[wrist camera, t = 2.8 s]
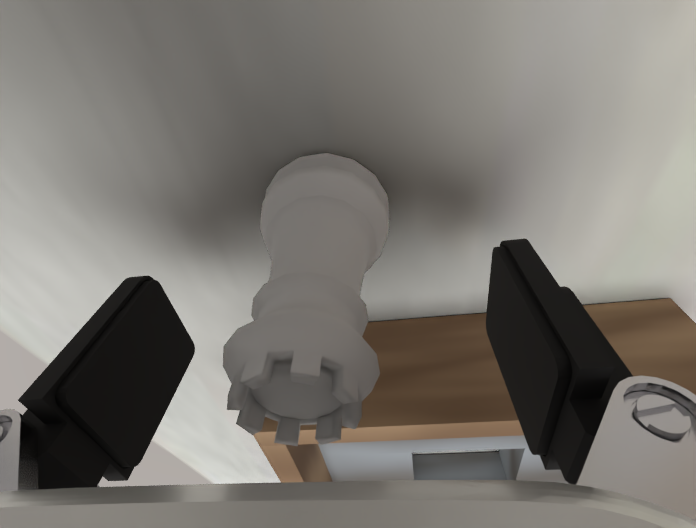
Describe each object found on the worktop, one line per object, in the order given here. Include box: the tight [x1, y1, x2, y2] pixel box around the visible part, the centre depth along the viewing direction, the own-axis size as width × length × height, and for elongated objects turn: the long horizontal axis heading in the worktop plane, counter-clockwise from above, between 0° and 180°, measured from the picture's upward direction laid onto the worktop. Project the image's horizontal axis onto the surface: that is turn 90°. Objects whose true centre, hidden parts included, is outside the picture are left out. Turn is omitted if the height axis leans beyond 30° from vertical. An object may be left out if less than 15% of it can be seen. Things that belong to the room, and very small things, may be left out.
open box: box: [254, 298, 696, 484], centre depth 20 cm, size 20×17×5 cm
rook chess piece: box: [223, 153, 390, 446], centre depth 10 cm, size 4×4×8 cm
